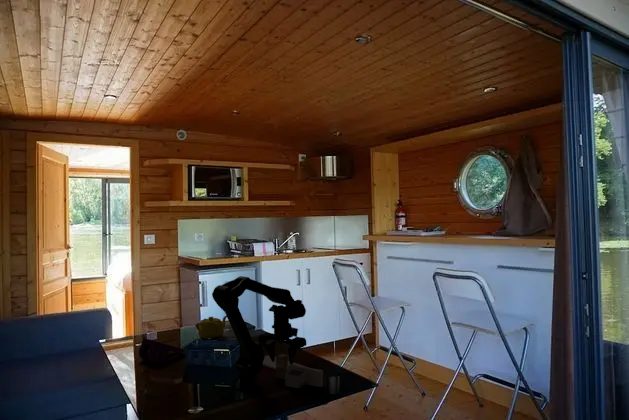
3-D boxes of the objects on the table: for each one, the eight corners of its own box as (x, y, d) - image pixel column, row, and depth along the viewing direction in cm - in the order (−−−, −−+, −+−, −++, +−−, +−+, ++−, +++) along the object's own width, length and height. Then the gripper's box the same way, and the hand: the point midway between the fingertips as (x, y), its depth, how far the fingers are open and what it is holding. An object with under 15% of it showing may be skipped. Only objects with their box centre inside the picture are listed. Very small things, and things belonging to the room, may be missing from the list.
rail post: (283, 379, 168) (282, 357, 168) (276, 377, 169) (275, 356, 169) (287, 376, 170) (287, 355, 171) (280, 374, 172) (280, 353, 172)
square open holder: (299, 388, 154) (298, 376, 154) (285, 385, 157) (284, 373, 157) (310, 381, 161) (310, 369, 161) (297, 378, 164) (297, 367, 164)
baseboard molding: (274, 356, 196) (252, 363, 188) (274, 350, 196) (252, 356, 188) (326, 374, 174) (303, 382, 166) (326, 366, 174) (303, 374, 166)
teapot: (204, 333, 235) (204, 313, 235) (228, 333, 233) (228, 313, 234) (194, 340, 222) (193, 319, 222) (219, 341, 220) (218, 320, 220)
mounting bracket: (169, 366, 202) (135, 357, 190) (176, 347, 205) (143, 337, 193) (182, 370, 196) (148, 362, 184) (189, 350, 199) (156, 341, 187)
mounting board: (320, 387, 159) (320, 371, 159) (287, 380, 166) (287, 365, 166) (323, 385, 160) (322, 370, 160) (290, 379, 167) (289, 364, 167)
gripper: (313, 319, 172) (314, 360, 172) (273, 315, 182) (274, 353, 182) (297, 326, 163) (298, 369, 163) (256, 321, 172) (257, 362, 172)
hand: (282, 363), depth 170 cm, fingers open, 8 cm apart
